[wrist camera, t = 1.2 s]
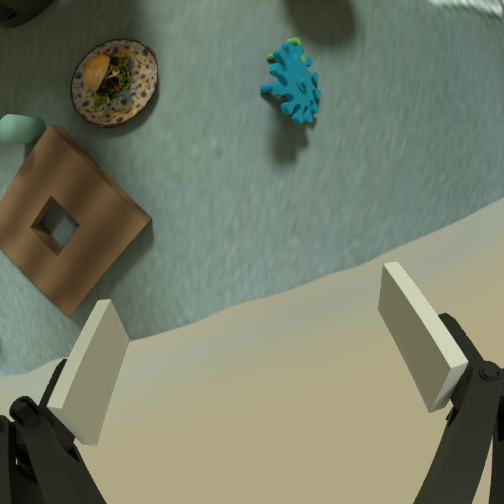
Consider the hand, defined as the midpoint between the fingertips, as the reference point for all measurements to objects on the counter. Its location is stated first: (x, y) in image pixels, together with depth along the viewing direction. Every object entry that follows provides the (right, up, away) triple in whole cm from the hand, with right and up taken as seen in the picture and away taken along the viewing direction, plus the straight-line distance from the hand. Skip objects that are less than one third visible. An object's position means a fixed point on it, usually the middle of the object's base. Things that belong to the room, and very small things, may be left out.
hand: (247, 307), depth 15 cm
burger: (-17, +24, +18) cm, 34 cm away
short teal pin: (-29, +19, +18) cm, 39 cm away
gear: (+5, +23, +21) cm, 32 cm away
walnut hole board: (-25, +7, +22) cm, 34 cm away
